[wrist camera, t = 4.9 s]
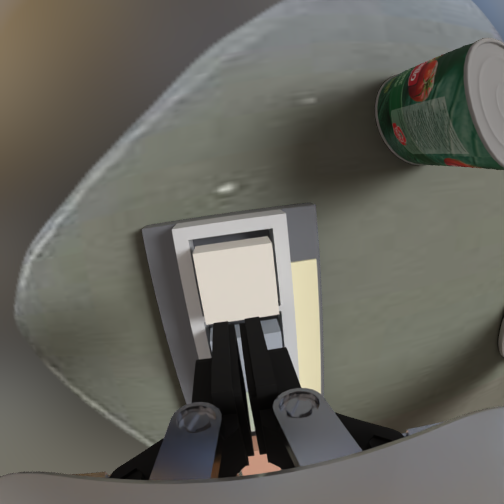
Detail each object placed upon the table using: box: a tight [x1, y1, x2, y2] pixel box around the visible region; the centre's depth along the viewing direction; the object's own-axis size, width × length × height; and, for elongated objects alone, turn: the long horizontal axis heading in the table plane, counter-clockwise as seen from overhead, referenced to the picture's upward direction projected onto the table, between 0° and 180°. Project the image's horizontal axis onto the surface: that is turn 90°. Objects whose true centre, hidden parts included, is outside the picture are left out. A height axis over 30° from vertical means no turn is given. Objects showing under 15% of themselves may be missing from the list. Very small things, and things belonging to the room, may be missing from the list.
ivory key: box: [193, 236, 279, 325], centre depth 19 cm, size 4×4×2 cm
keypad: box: [142, 203, 324, 471], centre depth 24 cm, size 12×24×4 cm, turn 7°
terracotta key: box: [242, 436, 281, 476], centre depth 23 cm, size 4×4×2 cm
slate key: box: [210, 319, 282, 392], centre depth 20 cm, size 4×4×2 cm
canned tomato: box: [375, 38, 504, 170], centre depth 17 cm, size 8×8×11 cm
